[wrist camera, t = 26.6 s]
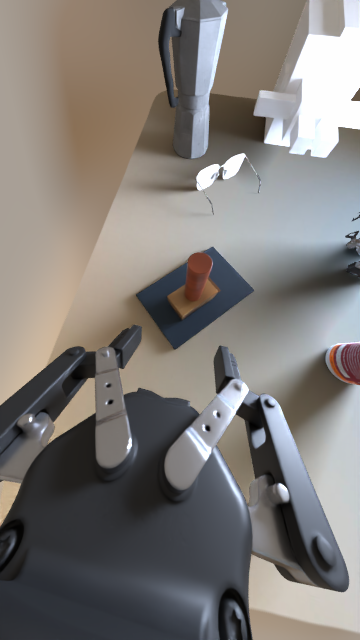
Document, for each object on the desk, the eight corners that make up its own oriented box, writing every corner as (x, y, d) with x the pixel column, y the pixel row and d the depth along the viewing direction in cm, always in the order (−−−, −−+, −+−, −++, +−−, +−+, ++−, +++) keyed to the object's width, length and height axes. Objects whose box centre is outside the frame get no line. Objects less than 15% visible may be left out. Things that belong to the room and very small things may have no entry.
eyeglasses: (239, 172, 34) (248, 149, 30) (258, 195, 33) (270, 175, 29) (192, 192, 32) (195, 171, 28) (211, 218, 31) (216, 199, 27)
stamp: (181, 321, 23) (184, 295, 13) (168, 303, 24) (161, 265, 14) (213, 299, 24) (238, 259, 14) (199, 283, 25) (214, 234, 15)
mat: (174, 349, 22) (174, 349, 22) (136, 295, 25) (135, 294, 24) (252, 291, 25) (254, 290, 25) (211, 248, 28) (212, 246, 27)
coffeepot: (194, 129, 38) (207, -61, 21) (219, 145, 36) (257, -48, 19) (154, 154, 35) (130, -43, 18) (180, 172, 34) (182, -26, 16)
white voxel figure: (237, 181, 36) (247, 108, 41) (334, 195, 35) (331, 119, 40) (277, 69, 21) (284, -23, 26) (444, 88, 20) (418, -11, 25)
